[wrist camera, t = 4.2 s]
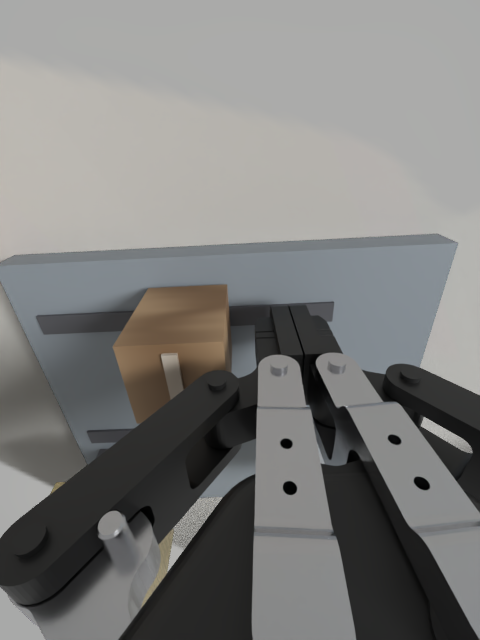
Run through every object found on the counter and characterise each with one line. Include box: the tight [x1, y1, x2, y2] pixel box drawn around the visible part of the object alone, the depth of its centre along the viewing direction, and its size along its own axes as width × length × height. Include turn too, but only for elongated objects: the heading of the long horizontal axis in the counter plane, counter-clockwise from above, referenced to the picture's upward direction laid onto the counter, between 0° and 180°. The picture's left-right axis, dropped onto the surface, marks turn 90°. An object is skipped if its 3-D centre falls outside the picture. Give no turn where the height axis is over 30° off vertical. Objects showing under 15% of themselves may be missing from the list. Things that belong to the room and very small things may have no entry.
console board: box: [0, 234, 458, 498], centre depth 17 cm, size 20×18×5 cm
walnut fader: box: [113, 284, 232, 424], centre depth 12 cm, size 4×4×5 cm
